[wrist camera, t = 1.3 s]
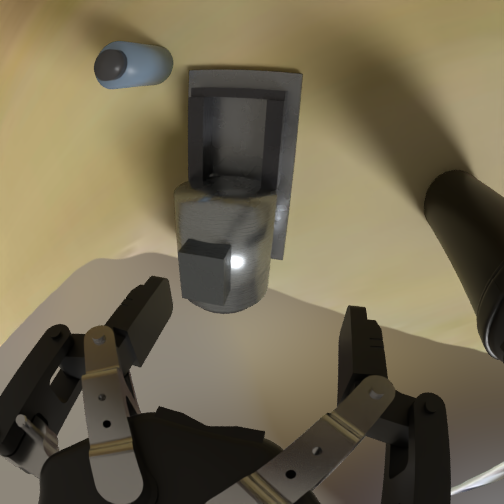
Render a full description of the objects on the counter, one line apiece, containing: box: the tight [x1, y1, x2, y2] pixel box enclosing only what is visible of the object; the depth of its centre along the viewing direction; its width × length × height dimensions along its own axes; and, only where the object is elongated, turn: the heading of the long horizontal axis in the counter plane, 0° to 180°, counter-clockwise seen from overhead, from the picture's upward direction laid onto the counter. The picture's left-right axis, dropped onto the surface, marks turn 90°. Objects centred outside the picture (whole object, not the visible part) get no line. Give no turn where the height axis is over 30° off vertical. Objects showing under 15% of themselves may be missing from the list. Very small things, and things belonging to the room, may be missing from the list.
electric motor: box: [174, 70, 303, 314], centre depth 28 cm, size 24×12×13 cm, turn 177°
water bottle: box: [424, 170, 504, 363], centre depth 20 cm, size 10×10×23 cm
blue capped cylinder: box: [94, 41, 173, 89], centre depth 25 cm, size 5×5×9 cm
